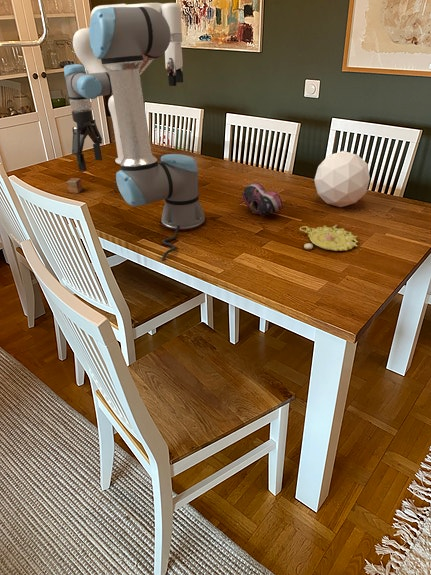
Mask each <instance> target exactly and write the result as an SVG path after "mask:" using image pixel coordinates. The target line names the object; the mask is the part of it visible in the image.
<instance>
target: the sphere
mask: <svg viewBox="0 0 431 575" xmlns="http://www.w3.org/2000/svg"><path fill="white" fill-rule="evenodd" d="M370 180H371V177H370V170H369V165H368V163H367V162H366V161H365V160H364V159H363V158H362V157H361V156H359V155H358V154H357V153H352V152H350V151H349V152H348V151H345V150H341V151H338V152H335V153H331V154H328V155H327V156H326V157H325V158H324V159H323V160H322V161H321V163H319V165H318V166H317V169H316V173H315V176H314V179H313V181H314V185H315V190H316V193H317V195H318V196H319V197H320V199H322V201H324V202H325V204H327V205H330V206H335V207H338V208H343V207H347V206H350V205H353V204H356V203H357V202H358V201H359V200H360V199H361V198H363V197H364V196H365V195H366V194H367V192H368V188H369V184H370Z"/></svg>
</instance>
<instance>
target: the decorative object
mask: <svg viewBox="0 0 431 575" xmlns="http://www.w3.org/2000/svg"><path fill="white" fill-rule="evenodd" d="M303 228H304V229H305V230H304V229H303ZM299 231H300V232H303V233H305V234H307V237H308V238H309V240H310V241H311V243H304V244H303V248H304V249H305V250H313V249H314V245H315V246H316V247H318V248H321V249H324V250H328V251H335V252H341V251H348V250H352V249H354V247H356V248H358V247H359V245H358V244H357V243H359V240H357V238H359V237H358V235H353V234H352V231H347V230H346V229H345V228H344V227H342V228H338V224H335V225H333V226H331V227H328V226H327V225H326V224H325V225H323V226H322V227H321V226H317V227H316V228H314V227H309V226H308V225H302V226H300V227H299ZM313 244H314V245H313Z"/></svg>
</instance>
